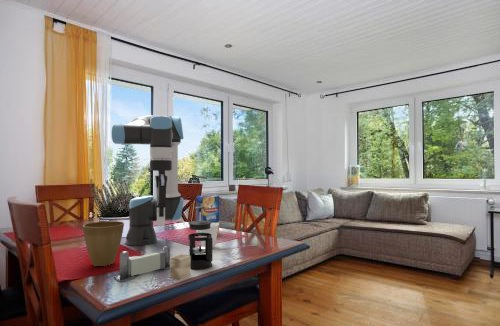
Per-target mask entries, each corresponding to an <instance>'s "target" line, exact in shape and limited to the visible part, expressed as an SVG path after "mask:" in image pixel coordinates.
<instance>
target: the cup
mask: <svg viewBox="0 0 500 326" xmlns="http://www.w3.org/2000/svg"><path fill="white" fill-rule="evenodd" d="M218 225H219V226H220V223H219V224H218V223H211V224H210V229H206V230H201V233H210V234H212V249H214V248H216V244H217V243H216V242H217V236H218V235H217V231H218ZM201 237H207V236H201ZM201 247H205V241H201Z"/></svg>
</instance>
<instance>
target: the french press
mask: <svg viewBox="0 0 500 326" xmlns="http://www.w3.org/2000/svg"><path fill="white" fill-rule="evenodd" d="M203 208H205V207H194V209H199V212H200V221H196V220H193V221H189V222H188V225H189V229H190V230H192V231H196V230H200V233H196V232H194V233H190V234H188V241H189V246H188V247H189V252H188V254H189V256H191V270H194V271H198V270H199V271H200V270H201V271H202V270H207V269H210V268H212V266H213V263H212V262H213V248H212V234H210V233H201V230H206V229H210V224H211V223H212V222H210V221H201V209H203ZM201 236H207V237H201ZM201 241H205V247H202V242H201ZM196 242H199V246H196Z"/></svg>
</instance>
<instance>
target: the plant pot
mask: <svg viewBox="0 0 500 326" xmlns="http://www.w3.org/2000/svg"><path fill="white" fill-rule="evenodd" d="M124 226H125V222H123V221H117V220H115V221H114V220H112V221H111V220H110V221H109V220H108V221H107V220H105V221H94V222H88V223H85V224H83V225H82V231H83V237H84V242H85V246H86V249H87V253H88V256H89V259H90V262H91V263H92V266H93V265H94V266H93V267H95V266H104V267H108V266H107V265H109V266H111V265H110V264H112V265H113V264H114V263H115V260H116V257H117V255H118V252H119V249H120V247H121V246H120V245H121V243H122V238H123V233H124Z"/></svg>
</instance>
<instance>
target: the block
mask: <svg viewBox="0 0 500 326" xmlns="http://www.w3.org/2000/svg"><path fill="white" fill-rule="evenodd" d="M191 270H192V269H191V256H189V255H187V254H183V253H179V254H176V255H174V256H170V269H169V279H170V278H171V279H175V280H180V281H183V280H184V279H186V278H188V277H190V276H191V275H192V274H191Z"/></svg>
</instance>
